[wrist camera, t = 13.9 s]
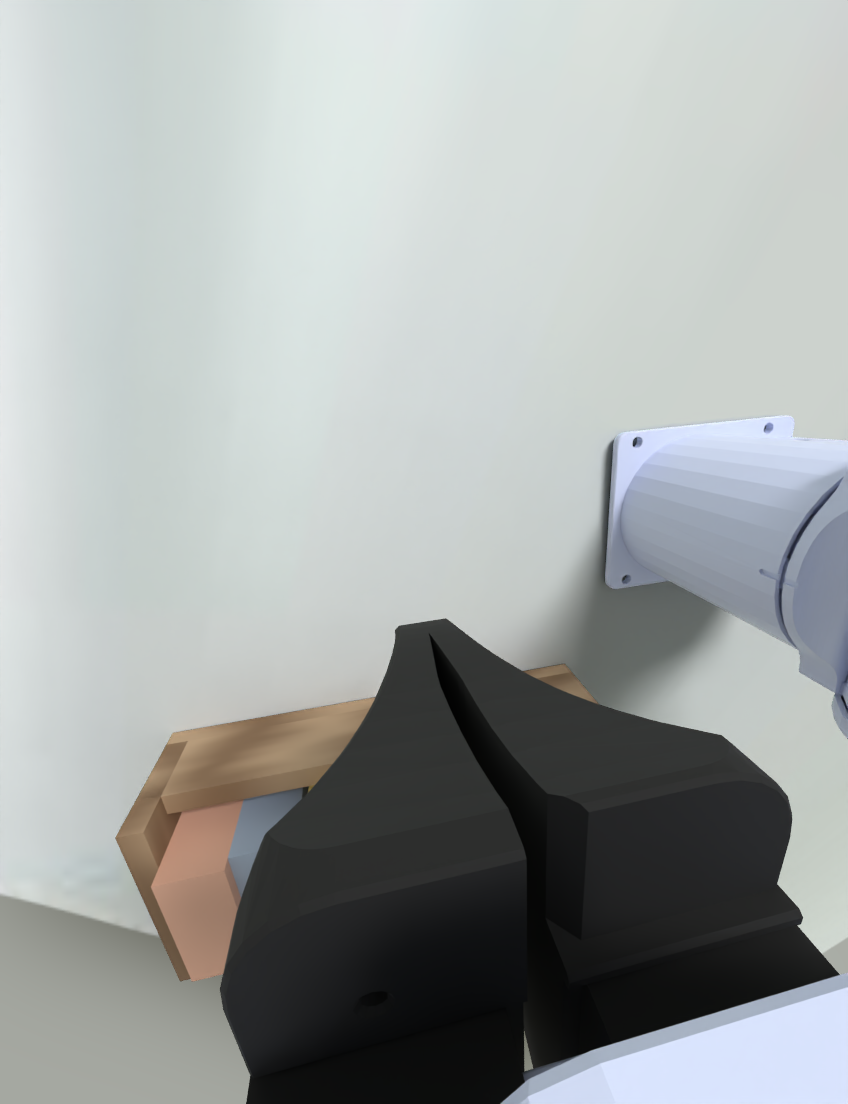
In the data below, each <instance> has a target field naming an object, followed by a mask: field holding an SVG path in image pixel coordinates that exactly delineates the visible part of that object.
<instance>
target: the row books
mask: <svg viewBox="0 0 848 1104" xmlns="http://www.w3.org/2000/svg"><path fill="white" fill-rule="evenodd" d="M308 788H309V786H307V787H302V788H297V789H292V790H287V791H282V792H277V793H272V794H267V795H262V796H257V797H252V798H247V799H242V800H237V801H232V802H227V803H222V804H217V805H212V806H207V807H202V808H197V809H192V810H187V811H182V813H181V816H180V818H179V821H178V823H177V825H176V828H175V830H174V833H173V835H172V837H171V840H170V842H169V845H168V847H167V849H166V852H165V854H164V857H163V859H162V861H161V864H160V866H159V869H158V871H157V873H156V876H155V878H154V881H153V883H152V885H151V889H152V891H153V893H154V895H155V898H156V900H157V902H158V905H159V907H160V909H161V912H162V914H163V916H164V918H165V921H166V923H167V925H168V928H169V930H170V932H171V934H172V937H173V939H174V941H175V944H176V946H177V948H178V950H179V953H180V955H181V957H182V960H183V962H184V964H185V966H186V969H187V971H188V973H189V976H190V978H191V980H192V981H197V980H201V979H205V978H209V977H213V976H217V975H221V974H223V973H224V968H225V963H226V959H227V954H228V949H229V945H230V940H231V935H232V931H233V926H234V922H235V918H236V913H237V910H238V907H239V903H240V900H241V897H242V894H243V891H244V888H245V885H246V882H247V879H248V877H249V874H250V871H251V868H252V865H253V863H254V860H255V857H256V855H257V852H258V850H259V847H260V845H261V842H262V840H263V838H264V835H265V834H266V833H267V831H269V830H270V829H271V828H272V827H273V826H274V825H275V824H276V823H277V822H278V821H279V820H280V819H282V818H283V817H284V816H285V815H286V814H287V813H288V812H289V811H290V810H291V809H292V808H293V807H294V806H295V805H296V804H297V803H298V802H299V801H300V800H301V799H302V798H303V797H304V796H305V795H306V794H307V793H308Z"/></svg>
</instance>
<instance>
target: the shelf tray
mask: <svg viewBox="0 0 848 1104" xmlns="http://www.w3.org/2000/svg"><path fill="white" fill-rule="evenodd" d="M523 672H525V673H527V674H529V675H531V676H532V677H535V678H537V679H539V680H541V681H543V682H545V683H547V684H549V685H551V686H553V687H555V688H558V689H560V690H563V691H565V692H567V693H570V694H572V695H575V696H578V697H580V698H583V699H586V700H588V701H591V702H594V703H596V704H598V703H597V701H596V700H595V699H594V698H593V697H592V696H591V694H590V693H589V692H588V691H587V690H586V688H585V687H584V686H583V685H582V684H581V683H580V681H579V680H578V679H577V678H576V677H575V675H574V674H573V673H572V672H571V671H570V670H569V668H568V667H567V666H566V665H565V664H561V665H556V666H550V667H544V668H539V669H533V670H527V671H523ZM374 699H375V697H374V698H369V699H363V700H357V701H352V702H346V703H340V704H335V705H329V706H323V707H318V708H312V709H306V710H301V711H295V712H289V713H284V714H278V715H272V716H267V717H261V718H255V719H250V720H244V721H238V722H233V723H227V724H221V725H216V726H210V727H204V728H199V729H193V730H187V731H182V732H176V733H173V734H172V735H171V737H170V739H169V741H168V743H167V745H166V746H165V748H164V750H163V752H162V754H161V756H160V757H159V759H158V761H157V763H156V765H155V766H154V768H153V770H152V772H151V774H150V776H149V777H148V779H147V781H146V783H145V785H144V787H143V788H142V790H141V792H140V794H139V796H138V798H137V799H136V801H135V803H134V805H133V807H132V808H131V810H130V812H129V814H128V816H127V818H126V819H125V821H124V823H123V825H122V827H121V829H120V830H119V832H118V834H117V836H116V838H115V839H116V841H117V843H118V845H119V847H120V850H121V852H122V854H123V856H124V858H125V861H126V863H127V865H128V867H129V869H130V872H131V874H132V876H133V878H134V881H135V883H136V885H137V887H138V889H139V892H140V894H141V896H142V898H143V900H144V903H145V905H146V907H147V909H148V912H149V914H150V916H151V918H152V920H153V923H154V925H155V927H156V929H157V931H158V934H159V936H160V938H161V940H162V942H163V945H164V947H165V949H166V951H167V954H168V956H169V958H170V960H171V962H172V964H173V967H174V969H175V971H176V973H177V975H178V978H179V980H180V981H183V980H188V979H191V978H190V976H189V973H188V971H187V969H186V966H185V964H184V962H183V960H182V957H181V955H180V953H179V950H178V948H177V946H176V944H175V941H174V939H173V937H172V934H171V932H170V930H169V928H168V925H167V923H166V921H165V918H164V916H163V914H162V912H161V909H160V907H159V905H158V902H157V900H156V898H155V895H154V893H153V891H152V889H151V885H152V883H153V881H154V878H155V876H156V873H157V871H158V869H159V866H160V864H161V861H162V859H163V857H164V854H165V852H166V849H167V847H168V845H169V842H170V840H171V837H172V835H173V833H174V830H175V828H176V825H177V823H178V821H179V818H180V816H181V813H182V811H187V810H192V809H197V808H202V807H207V806H212V805H217V804H222V803H227V802H232V801H237V800H242V799H247V798H252V797H257V796H262V795H267V794H272V793H277V792H282V791H287V790H292V789H297V788H302V787H307V786H312V785H315V784H316V783H317V782H318V781H319V779H320V778H321V777H322V776H323V775H324V773H325V772H326V771H327V770H328V769H329V767H330V766H331V765H332V764H333V763H334V761H335V760H336V759H337V758H338V757H339V755H340V754H341V753H342V751H343V750H344V748H345V747H346V746H347V744H348V743H349V741H350V740H351V738H352V737H353V735H354V734H355V732H356V731H357V729H358V728H359V726H360V725H361V723H362V721H363V720H364V718H365V716H366V714H367V713H368V711H369V709H370V707H371V705H372V703H373V701H374Z"/></svg>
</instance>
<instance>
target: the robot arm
mask: <svg viewBox="0 0 848 1104" xmlns="http://www.w3.org/2000/svg"><path fill="white" fill-rule="evenodd" d="M765 425H766V429H765V431H764V427H765ZM793 430H794V419H793V418H792V417H791V416H773V417H764V418H754V419H744V420H735V421H725V422H716V423H706V424H696V425H687V426H677V427H668V428H658V429H649V430H639V431H629V432H623V433H620V434H619V435H617V436H616V438H615V440H614V444H613V459H612V475H611V491H610V507H609V523H608V539H607V555H606V571H605V583H606V584H607V586H609V587H610V588H612V589H620V588H627V587H633V586H640V585H646V584H652V583H659V582H665V581H670V582H672V583H674V584H676V585H678V586H680V587H682V588H683V589H685V590H687V591H689V592H691V593H693V594H695V595H697V596H698V597H700V598H702V599H704V600H706V601H708V602H710V603H711V604H713V605H715V606H717V607H719V608H721V609H723V610H725V611H726V612H728V613H730V614H732V615H734V616H736V617H738V618H739V619H741V620H743V621H745V622H747V623H749V624H751V625H753V626H754V627H756V628H758V629H760V630H762V631H764V632H766V633H767V634H769V635H771V636H773V637H775V638H777V639H779V640H781V641H782V642H784V643H786V644H788V645H790V646H792V647H794V648H795V649H797V650H799V654H800V665H799V672H800V673H801V674H803V675H805V676H807V677H808V678H810V679H812V680H813V681H815V682H817V683H819V684H820V685H822V686H824V687H826V688H827V689H829V690H831V691H832V692H834V693H835V695H834V697H833V701H832V711H833V716H834V719H835V721H836V723H837V725H838V727H839V729H840V730H841V731H842V733H843V734H844V735H845V737H846V738H847V739H848V441H847V440H831V439H814V438H798V437H792V435H793ZM635 437H636V438H637V444H636V445H635V446H634V447H633V445H632V442H633V440H634V438H635ZM625 575H626V579H625V580H623V581H622V578H623V577H624V576H625ZM791 825H792V812H791V808H790V804H789V800H788V796H787V795H786V794H785V792H784V791H783V790H782V789H781V787H780V786H779V785H778V784H777V783H776V782H775V781H774V780H773V779H772V778H771V777H769V776H768V775H767V774H766V773H765V772H764V771H763V770H761V769H760V768H759V767H758V766H757V765H756V764H755V763H753V762H752V761H751V760H750V759H749V758H748V757H746V756H745V755H744V754H743V753H742V752H741V751H740V750H738V749H737V748H736V747H735V746H734V745H733V744H732V743H730V742H729V741H728V740H727V739H725V738H724V737H723V736H722V735H717V734H713V733H708V732H703V731H699V730H694V729H689V728H684V727H680V726H675V725H670V724H666V723H661V722H657V721H653V720H649V719H646V718H642V717H638V716H635V715H631V714H628V713H624V712H621V711H618V710H614V709H611V708H608V707H605V706H602V705H599V704H596V703H594V702H591V701H588V700H586V699H583V698H580V697H578V696H575V695H572V694H570V693H567V692H565V691H563V690H560V689H558V688H555V687H553V686H551V685H549V684H547V683H545V682H543V681H541V680H539V679H537V678H535V677H532V676H531V675H529V674H527V673H525V672H523V671H521V670H519V669H518V668H516V667H514V666H513V665H511V664H509V663H508V662H506V661H504V660H503V659H501V658H499V657H498V656H496V655H495V654H493V653H492V652H490V651H489V650H487V649H486V648H484V647H483V646H482V645H480V644H479V643H477V642H476V641H475V640H473V639H472V638H471V637H469V636H468V635H467V634H465V633H464V632H463V631H462V630H460V629H459V628H458V627H456V626H455V625H454V624H453V623H451V622H450V621H449V620H447V619H440V620H433V621H427V622H421V623H414V624H408V625H401V626H398V628H397V629H396V630H395V644H394V649H393V653H392V656H391V659H390V663H389V666H388V669H387V672H386V674H385V677H384V679H383V682H382V684H381V686H380V689H379V691H378V693H377V695H376V697H375V699H374V701H373V703H372V705H371V707H370V709H369V711H368V713H367V714H366V716H365V718H364V720H363V721H362V723H361V725H360V726H359V728H358V729H357V731H356V732H355V734H354V735H353V737H352V738H351V740H350V741H349V743H348V744H347V746H346V747H345V748H344V750H343V751H342V753H341V754H340V755H339V757H338V758H337V759H336V760H335V761H334V763H333V764H332V765H331V766H330V767H329V769H328V770H327V771H326V772H325V773H324V775H323V776H322V777H321V778H320V779H319V781H318V782H317V783H316V784H315V785H314V787H313V788H312V789H311V790H310V791H309V792H308V793H307V794H306V795H305V796H304V797H303V798H302V799H301V800H300V801H299V802H298V803H297V804H296V805H295V806H294V807H293V808H292V809H291V810H290V811H289V812H288V813H287V814H286V815H285V816H284V817H283V818H282V819H280V820H279V821H278V822H277V823H276V824H275V825H274V826H273V827H272V828H271V829H270V830H269V831H267V833H266V834H265V835H264V838H263V840H262V842H261V845H260V847H259V850H258V852H257V855H256V857H255V860H254V863H253V865H252V868H251V871H250V874H249V877H248V879H247V882H246V885H245V888H244V891H243V894H242V897H241V900H240V903H239V907H238V910H237V913H236V918H235V922H234V926H233V931H232V935H231V940H230V945H229V949H228V954H227V959H226V963H225V968H224V973H223V977H222V982H221V987H220V992H221V998H222V1004H223V1010H224V1012H225V1015H226V1017H227V1020H228V1022H229V1025H230V1027H231V1029H232V1032H233V1034H234V1037H235V1039H236V1042H237V1044H238V1046H239V1049H240V1051H241V1054H242V1056H243V1058H244V1061H245V1063H246V1066H247V1068H248V1071H249V1073H250V1075H251V1076H250V1083H249V1089H248V1096H247V1102H246V1104H848V973H845V974H842V975H840V974H839V973H838V972H837V971H836V970H835V969H834V968H833V966H832V965H831V964H830V963H829V962H828V961H827V960H826V958H825V957H824V956H823V955H822V954H821V953H820V951H819V950H818V949H817V948H816V947H815V946H814V944H813V943H812V942H811V941H810V940H809V939H808V938H807V936H806V935H805V934H804V933H803V932H802V931H801V929H800V928H799V927H798V926H797V925H800V924H801V922H802V919H803V916H802V914H801V912H800V910H799V908H798V907H797V906H796V905H795V904H794V902H793V901H792V900H791V899H790V898H789V897H788V896H787V895H786V894H785V892H784V891H783V890H782V889H781V888H780V887H779V886H778V885H777V882H778V878H779V875H780V871H781V868H782V864H783V861H784V857H785V853H786V850H787V846H788V843H789V839H790V833H791ZM524 1031H525V1035H526V1039H527V1043H528V1048H529V1051H530V1056H531V1060H532V1064H533V1069H532V1070H528V1071H525V1072H524Z"/></svg>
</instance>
